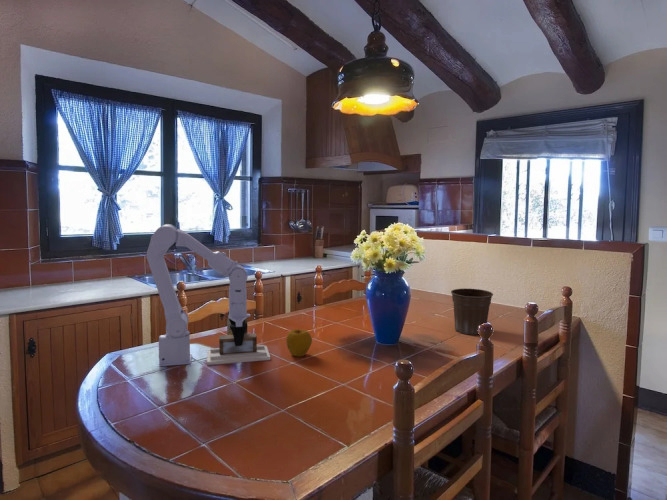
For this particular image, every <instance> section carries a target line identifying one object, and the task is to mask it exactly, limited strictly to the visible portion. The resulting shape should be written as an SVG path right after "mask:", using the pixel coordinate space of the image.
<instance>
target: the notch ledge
mask: <svg viewBox="0 0 667 500" xmlns="http://www.w3.org/2000/svg"><path fill="white" fill-rule="evenodd" d="M206 353H207V356H206V358H207V359H206V365H207V366H211V365H223V364H235V363H236V364H237V363H246V362H247V363H248V362H260V361H271V355H270V352H269V349H268V347H267V345H265V344H260V345H259V344H257V352H252V353H239V354H226V355H220V353H219V347H216V348H213V347H212V348H210V349H207V351H206Z"/></svg>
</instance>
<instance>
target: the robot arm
mask: <svg viewBox="0 0 667 500" xmlns="http://www.w3.org/2000/svg"><path fill="white" fill-rule="evenodd" d="M175 243H176V244H175ZM174 244H175V247H186V248H188V250H190V251H192V252H193V253H195V254H197V255H198V256H199V257H202V258H203V259H205V260H206V261H207V264H208V267H210V268H212V269H213V270H214V271H216V272H217V273H218V274H221V275H222V276H223V277H226V278H228V280H229V288H228V317H227V319H229V321H230V323H231V325H230V329H231V331H232V333H233V336H234V342H235V346H242V343H243V338H244V334H245V331H246V329H247V330H248V324H247V325H243V324H244V321H245V319H246V318H247V319H248V318H250V317H251V314H250V313H248V312H247V311H248V310H247V306H248V304H247V303H248V302H247V299H248V298H247V297H248V296H247V295H248V294H247V291H248V289H247V280H248V277H249V276H248V274H247V273H248V272H247V271H246V268H245V267H243V265H242V264H240V263H239V262H238V261H237V260H235V261H234V260H232V259H231V258H230V257H228V256H227V253H226V252H224V251H222V252H221V251H220V250H219V251H212V250H211V249H209V248H208V247H207V246H205V245H204V244H202V243H201V241H199V240H198V239H196V238H195V237H194V236H192V235H191V234H189V233H187V232H186V231H184V230H182V229H181V228H177V227H176V226H175V225H173V224H171V223H170V224H169V223H166V224H163V225H161V226H160V227H158V228H157V229H156V230H155V231H154V233H153V234H152V235H151V236H150V242H149V245H148V248H147V252H146V254H145V256H146V260H147V262H148V266H149V269H150V272H151V275H152V278H153V281H154V284H155V286H156V289H157V291H158V296H159V298H160V300H161V301H160V302H161V304H162V308H163V310H164V318H165V322H166V324H165V330H166V331H165V332H166V333H165V334H163V335H162V334H161V335H159V336H158V337H159V338H158V359H159V360H158V366H159V367H168V366H170V367H171V366H180V365H191V364H192V358H193V354H191V344H190V342H191V339H190V335H191V334H190V333H191V332H190V331H189V330H188V323H189V321H190V320H189V316H188V314H187V313H186V312H185V311H184V308H183V307H182V305H181V303H180V301H179V298H178V296H177V294H176V289H175V286H174V283H173V280H172V277H171V275H170V272H169V269H168V265H167V262H166V260H165V259H166V258H165V254H166V253H167V251H168V250H169V248H170V247H172V246H173V245H174Z"/></svg>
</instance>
